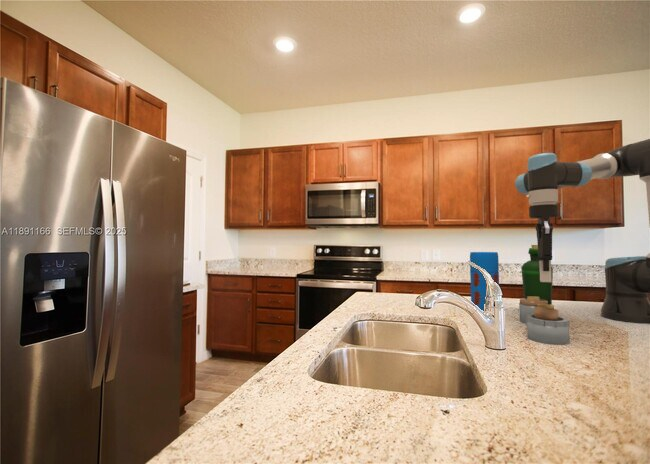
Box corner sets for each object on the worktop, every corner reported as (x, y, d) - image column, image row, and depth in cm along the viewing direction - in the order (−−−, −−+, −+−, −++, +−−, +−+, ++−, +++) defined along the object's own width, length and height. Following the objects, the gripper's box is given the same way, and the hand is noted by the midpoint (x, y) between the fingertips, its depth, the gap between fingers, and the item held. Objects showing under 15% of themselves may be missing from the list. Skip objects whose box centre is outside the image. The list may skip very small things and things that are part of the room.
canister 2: (565, 336, 99) (564, 315, 100) (573, 346, 90) (572, 323, 90) (525, 332, 104) (524, 312, 104) (529, 341, 95) (528, 319, 95)
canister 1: (540, 319, 121) (539, 294, 121) (554, 325, 112) (553, 299, 112) (515, 318, 122) (514, 294, 122) (527, 324, 113) (526, 298, 113)
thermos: (488, 315, 128) (486, 253, 128) (465, 310, 137) (464, 252, 138) (505, 312, 133) (503, 252, 133) (482, 307, 142) (480, 251, 143)
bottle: (553, 313, 130) (551, 244, 131) (555, 319, 121) (553, 245, 122) (522, 310, 136) (520, 244, 136) (522, 315, 127) (520, 245, 127)
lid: (556, 321, 98) (555, 303, 99) (560, 326, 93) (559, 307, 93) (533, 319, 101) (532, 302, 101) (535, 323, 96) (535, 305, 96)
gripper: (526, 207, 106) (528, 278, 105) (531, 203, 94) (534, 283, 93) (553, 206, 102) (556, 279, 102) (562, 201, 91) (565, 285, 90)
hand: (545, 281), depth 97 cm, fingers closed
